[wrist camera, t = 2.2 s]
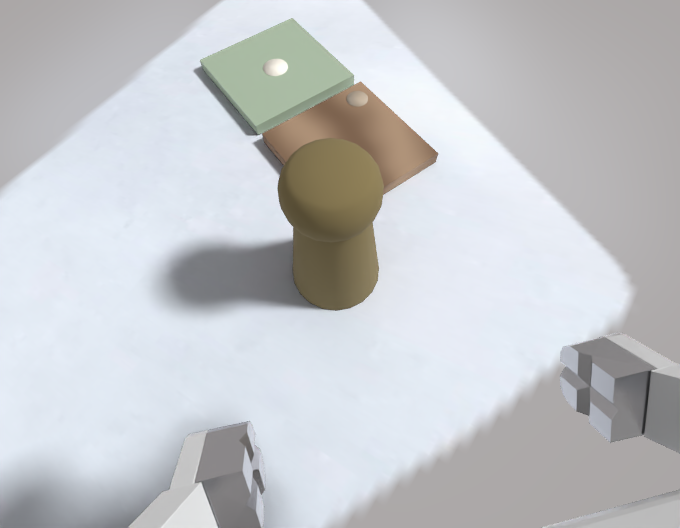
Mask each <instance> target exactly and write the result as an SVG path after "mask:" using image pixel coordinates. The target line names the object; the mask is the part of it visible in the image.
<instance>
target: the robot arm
mask: <svg viewBox="0 0 680 528" xmlns="http://www.w3.org/2000/svg"><path fill="white" fill-rule="evenodd" d="M560 361H561V362H562V363H563V364H564V365H565V366H566V367H565V368H564V370H563V371H562V373H561V375H560V387H561V389H562V392H563V395H564V397H565V399H566V400H567V401H568V403H569V404H570V405H571V406H572V407H573V408H574V409H575V410H576V411H577V412H580V413H583V414H586V415H588V416H589V423H590V424H591V425H592V426H593V427H594V428H595V429H596V430H597V431H598V432H599V433H600V434H601V435H602V436H604V437H605V438H606V439H607V440H608V441H609V442H610V443H611V442H615V441H620V440H624V439H628V438H633V437H637V436H642V435H644V437H646V438H648V439H650V440H652V441H654V442H656V443H659V444H661V445H663V446H665V447H667V448H669V449H671V450H674V451H676V452H678V453H680V364H676V363H674V362H672V361H671V360H669V359H667V358H665V357H664V356H662V355H660V354H659V353H657V352H655V351H653V350H652V349H650V348H648V347H647V346H645V345H643V344H641V343H640V342H638V341H636V340H634V339H633V338H631V337H629V336H628V335H626V334H623V333H618V332H617V333H613V334H609V335H606V336H602V337H599V338H597V339H593V340H589V341H584V342H580V343H576V344H572V345H568V346H564V347H563V348H562V350H561V353H560ZM264 490H265V471H264V463H263V458H262V454H261V451H260V448H259V447H257V446H256V445H255V431H254V428H253V425H252V423H251V422H250V421H247V422H242V423H237V424H233V425H228V426H223V427H219V428H214V429H210V430H205V431H201V432H197V433H192V434H189V435H188V436H187V437H186V438H185V440H184V443H183V446H182V449H181V453H180V456H179V459H178V462H177V465H176V469H175V472H174V475H173V478H172V481H171V485H170V488H169V490H167V491H163V492H161V494H160V495H159V496H158V497H157V498H156V499H155V500H154V501H153V502H152V503H151V504H150V505H149V506H148V507H147V508H146V509H145V510H144V511H143V512H142V513H141V514H140V515H139V516H138V517H137V518H136V520H135V521H134V522H133V523H132V524H131V525H130V526H129V527H128V528H263V523H264V504H263V501H262V497H261V495H262V493H263V492H264ZM542 528H680V490H676V491H673V492H669V493H666V494H662V495H658V496H654V497H651V498H647V499H644V500H640V501H636V502H632V503H629V504H625V505H622V506H618V507H614V508H611V509H607V510H603V511H599V512H596V513H592V514H589V515H585V516H581V517H578V518H574V519H570V520H567V521H563V522H560V523H556V524H552V525H549V526H545V527H542Z"/></svg>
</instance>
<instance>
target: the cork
mask: <svg viewBox="0 0 680 528" xmlns="http://www.w3.org/2000/svg"><path fill="white" fill-rule="evenodd" d="M383 189H384V184H383V180H382V177H381V173H380V170H379V166H378V165H377V163H376V162H375V161H374V159H373V158H372V156H371V155H370V154H369V153H368V152H367V151H365V150H364V149H363V148H361V147H360V146H358V145H357V144H355V143H352V142H350V141H347V140H344V139H335V138H326V139H319V140H314V141H312V142H310V143H307V144H305V145H303V146H301V147H300V148H299V149H298V150H296V151H295V152H294V153H293V154H292V155H291V156H290V157H289V159H288V160H287V162H286V163H285V165H284V166H283V168H282V170H281V174H280V178H279V182H278V195H279V202H280V206H281V209H282V211H283V213H284V214H285V216H286V218H287V220H288V221H289V223H290V224H291V225H292V226H293V276H294V283H295V285H296V287H297V289H298V290H299V292H300V294H301V295H302V296H303V297H304V298H305V299H306V300H307V301H308V302H310V303H311V304H313V305H316V306H318V307H320V308H322V309H329V310H342V309H348V308H351V307H353V306H355V305H357V304H359V303H361V302H363V301H364V300H365V299H366V298H367V297H368V296H369V295H370V294H371V293H372V291H373V289H374V287H375V285H376V283H377V281H378V271H379V266H378V259H377V252H376V245H375V238H374V230H373V223H372V222H373V221H374V219H375V217H376V215H377V213H378V211H379V210H380V208H381V205H382V198H383Z"/></svg>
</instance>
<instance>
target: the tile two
mask: <svg viewBox="0 0 680 528" xmlns="http://www.w3.org/2000/svg"><path fill="white" fill-rule="evenodd" d="M262 135H263V139H264V143H265V144H266V145H267V146H268V147H269V148H270V150H271V151H272V152H273V153H274V154H275V156H276V157H277V158H278V159H279V160H280V162H281V163H282V164H283V165H285V163H286V162H287V160H288V159H289V157H290V156H291V155H292V154H293V153H294V152H295V151H296V150H298V149H299V148H300V147H301V146H303V145H305V144H307V143H310V142H312V141H314V140H319V139H326V138H335V139H344V140H347V141H350V142H352V143H355V144H357V145H358V146H360V147H361V148H363V149H364V150H365V151H367V152H368V153H369V154H370V155H371V156H372V158H373V159H374V161H375V162H376V163H377V165H378V166H379V170H380V173H381V177H382V180H383V184H384V189H383V195H384V194H385V193H387V192H388V191H390V190H392V189H393V188H395V187H396V186H398V185H400V184H401V183H403V182H404V181H406V180H408V179H409V178H411V177H412V176H414V175H416V174H417V173H419V172H420V171H422V170H424V169H425V168H427V167H428V166H430V165H432V164H433V163H435V162H436V159H437V156H438V153H437V152H436V151H435V150H434V149H433V148H432V147H431V146H430V145H429V144H427V143H426V142H425V141H424V140H423V139H422V138H421V137H420V136H419V135H418V134H417V133H416V132H415V131H413V130H412V129H411V128H410V127H409V126H408V125H407V124H406V123H405V122H404V121H403V120H402V119H401V118H399V117H398V116H397V115H396V114H395V113H394V112H393V111H392V110H391V109H390V108H389V107H388V106H386V105H385V104H384V103H383V102H382V101H381V100H380V99H379V98H378V97H377V96H376V95H375V94H374V93H372V92H371V91H370V90H369V89H368V88H367V87H366V86H365V85H364V84H363V83H362V82H359V83H357V84H355V85H353V86H351V87H350V88H348V89H346V90H344V91H342V92H340V93H338V94H336V95H334V96H333V97H331V98H329V99H327V100H325V101H323V102H321V103H319V104H317V105H315V106H314V107H312V108H310V109H308V110H306V111H304V112H302V113H300V114H298V115H297V116H295V117H293V118H291V119H289V120H287V121H285V122H283V123H281V124H280V125H278V126H276V127H274V128H272V129H270V130H268V131H266V132H264V133H262Z"/></svg>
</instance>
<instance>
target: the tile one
mask: <svg viewBox="0 0 680 528" xmlns="http://www.w3.org/2000/svg"><path fill="white" fill-rule="evenodd" d="M200 62H201V65H202V67H203V70H204V71H205V72H206V74H207V75H208V76H209V77H210V78H211V79H212V81H213V82H214V83H215V84H216V85H217V87H218V88H219V89H220V90H221V91H222V93H223V94H224V95H225V96H226V97H227V99H228V100H229V101H230V102H231V103H232V104H233V106H234V107H235V108H236V109H237V110H238V112H239V113H240V114H241V115H242V116H243V118H244V119H245V120H246V121H247V122H248V123H249V125H250V126H251V127H252V128H253V129H254V131H255V132H256V133H257V134H258V135H259V134H261V133H263V132H265V131H267V130H269V129H271V128H273V127H275V126H277V125H278V124H280V123H282V122H284V121H286V120H288V119H290V118H292V117H294V116H295V115H297V114H299V113H301V112H303V111H305V110H307V109H309V108H311V107H313V106H314V105H316V104H318V103H320V102H322V101H324V100H326V99H328V98H330V97H331V96H333V95H335V94H337V93H339V92H341V91H343V90H345V89H347V88H349V87H350V86H352V85H354V75H353V74H352V73H351V72H350V71H349V70H348V69H347V68H346V67H344V66H343V65H342V64H341V63H340V62H339V61H338V60H337V59H336V58H335V57H334V56H333V55H332V54H330V53H329V52H328V51H327V50H326V49H325V48H324V47H323V46H322V45H321V44H320V43H319V42H317V41H316V40H315V39H314V38H313V37H312V36H311V35H310V34H309V33H308V32H307V31H306V30H305V29H303V28H302V27H301V26H300V25H299V24H298V23H297V22H296V21H295V20H294V19H293V18H291V19H289V20H287V21H285V22H282V23H280V24H278V25H276V26H274V27H271V28H269V29H267V30H265V31H263V32H261V33H258V34H256V35H254V36H252V37H250V38H247V39H245V40H243V41H241V42H239V43H236V44H234V45H232V46H230V47H228V48H225V49H223V50H221V51H219V52H217V53H214V54H212V55H210V56H208V57H206V58H203V59H201V60H200Z"/></svg>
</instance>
